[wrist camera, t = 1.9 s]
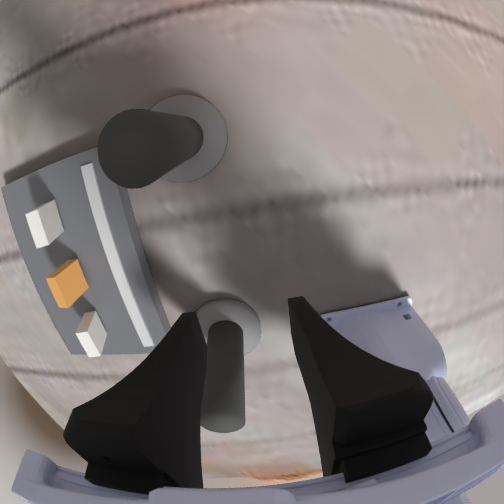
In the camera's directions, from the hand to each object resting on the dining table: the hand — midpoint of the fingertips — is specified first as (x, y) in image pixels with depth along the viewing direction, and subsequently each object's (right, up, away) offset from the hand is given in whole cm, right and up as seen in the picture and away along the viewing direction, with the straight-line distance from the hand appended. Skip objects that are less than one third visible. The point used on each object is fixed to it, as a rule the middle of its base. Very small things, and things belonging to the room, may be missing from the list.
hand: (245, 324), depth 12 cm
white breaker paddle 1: (-15, +6, +6) cm, 17 cm away
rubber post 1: (-4, +11, +6) cm, 13 cm away
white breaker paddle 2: (-13, -3, +10) cm, 17 cm away
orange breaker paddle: (-14, +1, +8) cm, 16 cm away
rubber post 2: (-2, -3, +13) cm, 14 cm away
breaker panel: (-14, +2, +10) cm, 17 cm away
